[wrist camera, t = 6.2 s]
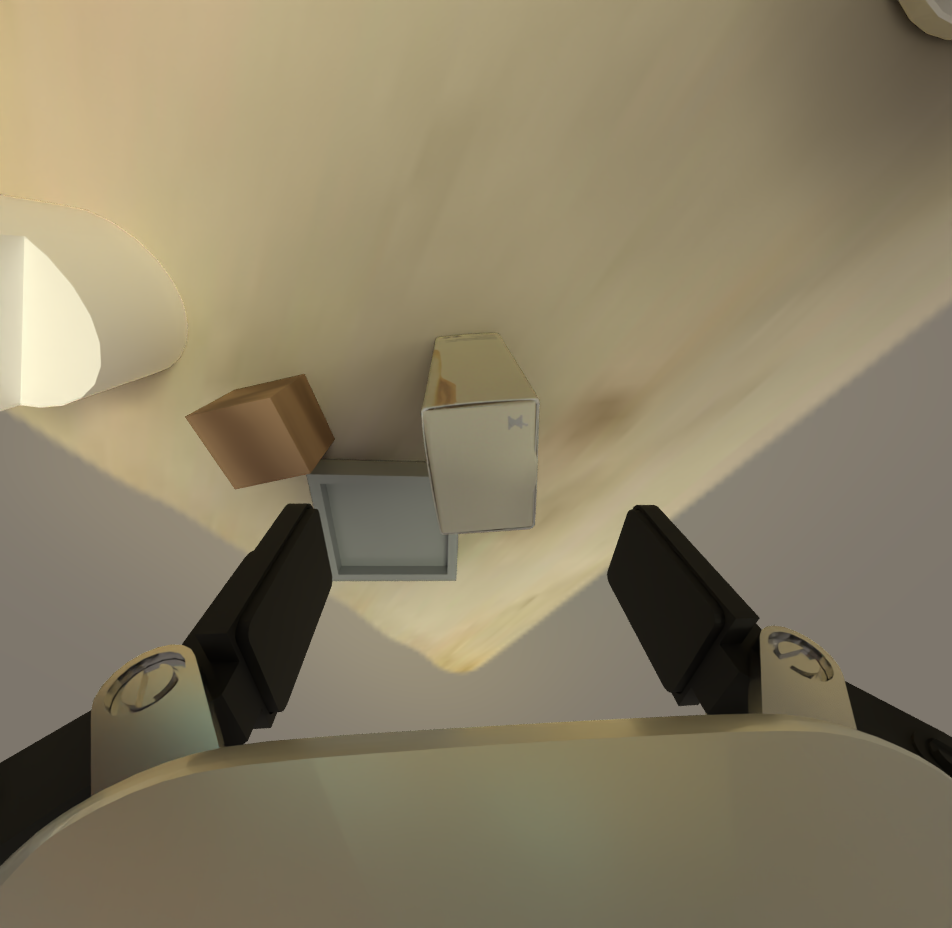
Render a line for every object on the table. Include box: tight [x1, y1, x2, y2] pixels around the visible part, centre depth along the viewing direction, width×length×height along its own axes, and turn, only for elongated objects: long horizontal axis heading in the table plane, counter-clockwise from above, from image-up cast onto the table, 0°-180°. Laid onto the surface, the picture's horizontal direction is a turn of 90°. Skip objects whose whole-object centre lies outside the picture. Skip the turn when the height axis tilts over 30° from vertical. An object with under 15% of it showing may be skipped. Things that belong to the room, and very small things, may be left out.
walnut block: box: [185, 374, 335, 489], centre depth 22 cm, size 5×5×5 cm
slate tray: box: [306, 459, 458, 581], centre depth 28 cm, size 11×11×2 cm
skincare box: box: [421, 333, 540, 535], centre depth 18 cm, size 6×4×12 cm
